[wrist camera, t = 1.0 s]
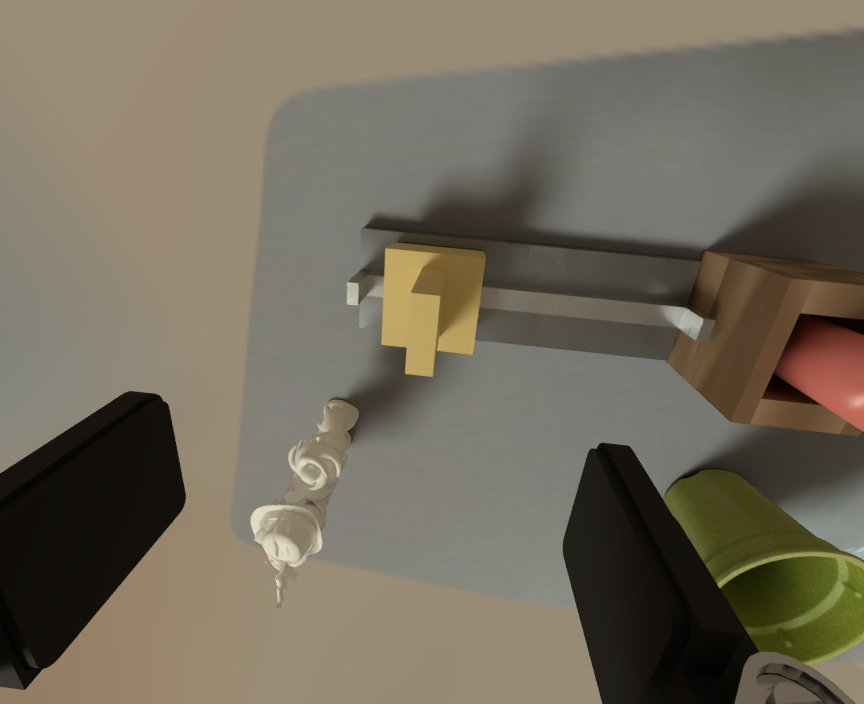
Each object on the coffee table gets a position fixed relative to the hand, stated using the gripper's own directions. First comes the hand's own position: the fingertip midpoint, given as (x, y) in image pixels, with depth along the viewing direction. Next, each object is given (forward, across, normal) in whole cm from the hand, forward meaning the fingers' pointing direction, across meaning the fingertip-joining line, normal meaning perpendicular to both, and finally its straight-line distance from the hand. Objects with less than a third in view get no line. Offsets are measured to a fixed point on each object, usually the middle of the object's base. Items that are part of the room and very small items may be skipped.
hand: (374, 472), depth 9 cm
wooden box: (+18, -18, 0) cm, 25 cm away
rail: (+18, -5, 0) cm, 19 cm away
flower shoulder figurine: (+18, +6, +11) cm, 22 cm away
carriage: (+16, 0, 0) cm, 16 cm away
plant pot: (+18, -21, +14) cm, 31 cm away
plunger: (+12, -18, 0) cm, 22 cm away
